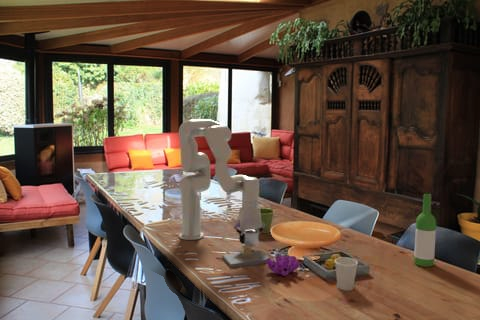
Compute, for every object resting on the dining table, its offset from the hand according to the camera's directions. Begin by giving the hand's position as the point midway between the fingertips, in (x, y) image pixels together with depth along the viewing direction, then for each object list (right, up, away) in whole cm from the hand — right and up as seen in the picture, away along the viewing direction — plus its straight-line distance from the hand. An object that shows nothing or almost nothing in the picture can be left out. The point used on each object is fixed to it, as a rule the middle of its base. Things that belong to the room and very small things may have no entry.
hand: (249, 241), depth 198 cm
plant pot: (+8, 0, +30) cm, 31 cm away
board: (-1, -6, -12) cm, 13 cm away
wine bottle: (+73, -6, -17) cm, 75 cm away
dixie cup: (+35, -9, -40) cm, 53 cm away
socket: (0, -1, 0) cm, 1 cm away
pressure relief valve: (+37, -7, -23) cm, 44 cm away
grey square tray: (+35, -7, -22) cm, 42 cm away
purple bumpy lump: (+13, -8, -26) cm, 30 cm away
